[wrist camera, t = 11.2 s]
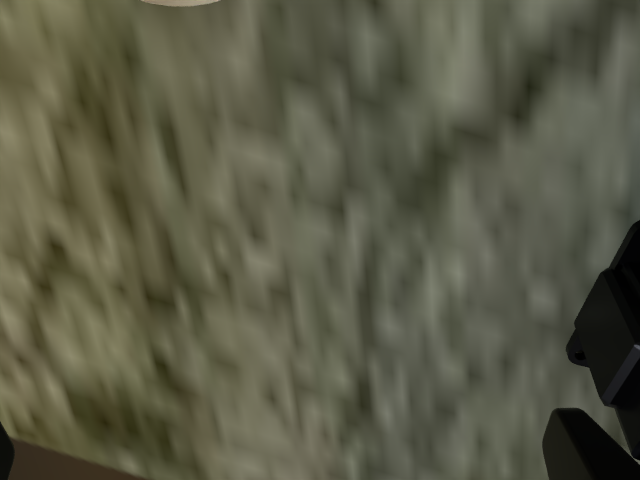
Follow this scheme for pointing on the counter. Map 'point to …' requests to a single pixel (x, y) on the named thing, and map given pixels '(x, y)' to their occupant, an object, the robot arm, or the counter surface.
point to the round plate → (180, 2)
